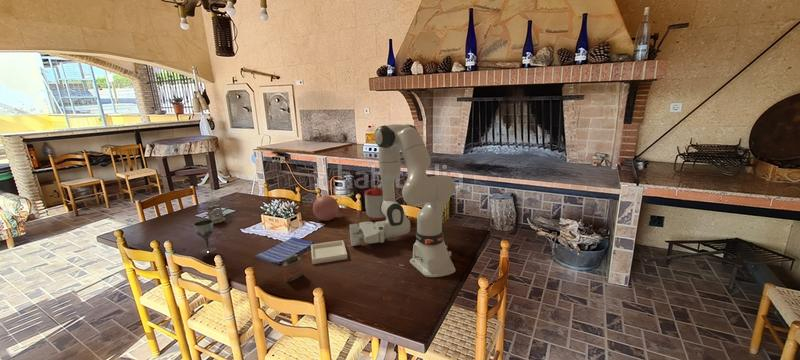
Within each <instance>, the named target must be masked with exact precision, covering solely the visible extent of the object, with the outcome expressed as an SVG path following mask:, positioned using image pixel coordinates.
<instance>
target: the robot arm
mask: <svg viewBox="0 0 800 360" xmlns="http://www.w3.org/2000/svg"><path fill="white" fill-rule="evenodd" d="M374 141H375V143H376V145H377V146H378V167H379V173H380V174H379V175H380V179H381V188H382V202H381V205H380V212H381V214H382V215H383V216H385V217H386V219H385V220H381V221H373V222H372V221H361V222H358V227H359V234H357V233H356V234H353V237H354V238H359V239H363V240H364V243H365V244H376V243H380V244H381V243H385V239H387V238H391V237H393V238H394V237H401V236H404V235H407V234H408V233H409V232H410V231H411V226H412V225H411V220H410V219H409V218H408V217H407V214H406V213H405V211H404V208H403V206H402V205H401V204H400V203H398V202H397V201H396V198H395V180H396V179H397V178H398V177H399V176H400V174H401V168H402V163H401V154H400V153H402V157H403V160H404V164H405V166H406V169H407V179H406V181H405V183H404V184H403V187H402V190H401V194H402V195H401V196H402V198H403V201H404V202H405V203H406V204H407V205H409V206H422V208H421V209H420V210H419V211H418V213H417V215H416V230H415V231H416V232H415V237H416V238H415V239H416V240H415V242H414V244H413V247H412V258H410V259H409V263H410V264H411V265H412V266H413V267H414V268H416V270H417V271H419V273H421V274H422V275H423V276H424V277H426V278H439V277H444V276H450V275H452V274H454V273H455V272H456V267H455V266H454V263H453V261H452V259H451V256H452V251H451V250H448V245H447V244H446V243H445V240H444V233H443V215H444V211H445V208H446V205H447V203H448V202H449V200H450V198H451V197H452V196H453V195H454V193H455V192H456V182H455V180H454V179H453V177H451V176H449V175H445V174H444V175H443V174H437V175H433V176H428V175H427V170H428V169H429V167H430V166H431V164H432V163H431V162H432V159H431V156H430V155H429V152H428V149H427V146H426V144H425V142H424V139H423V138H422V136H421V134H420V133H419V131H418V128H417V127H416V126H414V125H413V124H407V123H406V124H401V123H399V124H397V123H396V124H387V125H385V124H384V125H381V126H378V127H377V128H376V129H375V130H374ZM423 205H424V206H423Z"/></svg>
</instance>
